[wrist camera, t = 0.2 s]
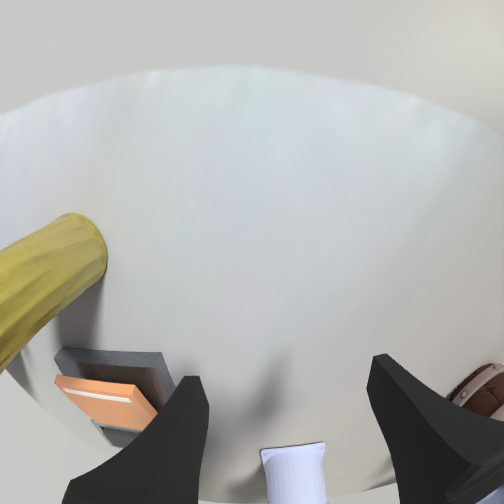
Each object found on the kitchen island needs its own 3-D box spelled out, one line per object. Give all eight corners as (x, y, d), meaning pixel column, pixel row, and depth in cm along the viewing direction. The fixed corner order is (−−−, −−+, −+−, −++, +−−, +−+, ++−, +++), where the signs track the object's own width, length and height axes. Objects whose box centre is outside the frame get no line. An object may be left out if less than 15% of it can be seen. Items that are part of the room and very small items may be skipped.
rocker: (168, 424, 23) (166, 433, 22) (97, 414, 23) (95, 422, 22) (134, 384, 19) (132, 395, 18) (57, 374, 19) (53, 383, 18)
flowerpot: (519, 339, 24) (586, 418, 5) (475, 411, 29) (518, 488, 10) (464, 354, 23) (545, 472, 4) (414, 432, 28) (455, 533, 9)
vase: (117, 281, 20) (8, 416, 6) (63, 286, 20) (-39, 389, 7) (97, 205, 18) (-64, 291, 4) (43, 220, 18) (-88, 293, 5)
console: (202, 445, 27) (200, 461, 25) (119, 436, 28) (113, 450, 25) (161, 352, 22) (153, 372, 20) (62, 347, 22) (50, 361, 20)
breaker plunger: (183, 442, 25) (181, 455, 24) (117, 434, 26) (113, 445, 24) (175, 429, 24) (172, 443, 23) (107, 420, 25) (102, 432, 23)
